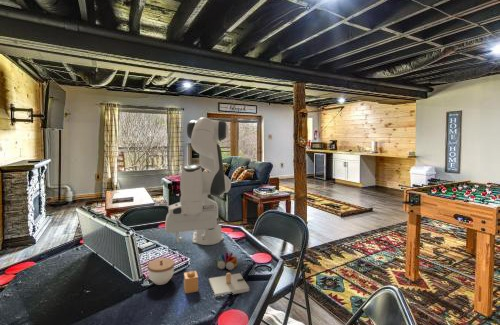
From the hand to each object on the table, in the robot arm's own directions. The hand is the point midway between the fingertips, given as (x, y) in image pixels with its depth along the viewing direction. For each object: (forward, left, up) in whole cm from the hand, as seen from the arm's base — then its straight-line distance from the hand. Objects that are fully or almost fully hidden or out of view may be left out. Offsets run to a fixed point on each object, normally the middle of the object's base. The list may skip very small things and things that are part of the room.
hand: (191, 240), depth 106 cm
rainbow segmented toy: (-13, +19, -21) cm, 31 cm away
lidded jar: (-10, -11, -21) cm, 25 cm away
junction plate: (+3, +15, -20) cm, 25 cm away
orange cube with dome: (0, 0, -20) cm, 20 cm away
